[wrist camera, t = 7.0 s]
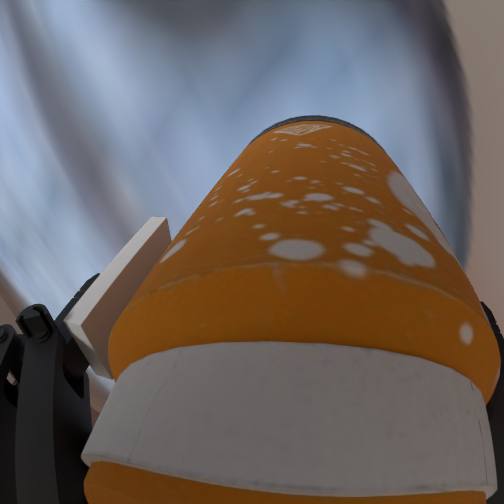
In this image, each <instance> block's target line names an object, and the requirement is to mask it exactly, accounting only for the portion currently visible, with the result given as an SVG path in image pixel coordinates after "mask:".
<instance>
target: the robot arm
mask: <svg viewBox="0 0 504 504" xmlns="http://www.w3.org/2000/svg"><path fill="white" fill-rule="evenodd" d="M171 242H172V241H171V236H170V231H169V226H168V221H167V217H151V218H150V219H149V220H148V221H147V222H146V224H145V225H144V226H143V227H142V228H141V229H140V230H139V231H138V232H137V233H136V234H135V235H134V237H133V238H132V239H131V240H130V241H129V242H128V243H127V244H126V245H125V246H124V248H123V249H122V250H121V251H120V252H119V253H118V254H117V255H116V257H115V258H114V259H113V260H112V261H111V262H110V264H109V265H108V266H107V267H106V268H105V269H104V270H103V272H102V273H101V274H100V273H97V274H96V275H94V276H93V277H91V278H90V279H89V280H87V281H86V282H85V284H84V285H83V286H82V287H81V288H80V291H78V292H77V293H76V294H75V296H74V298H72V299H71V300H70V302H69V303H68V304H67V305H66V307H65V308H64V309H63V310H62V312H61V313H60V314H59V315H58V317H57V318H56V319H55V321H54V320H53V318H52V317H51V315H50V313H49V311H48V309H47V308H46V307H45V305H42V304H34V305H31V306H29V307H27V308H26V309H24V310H23V311H22V312H21V313H20V314H19V315H18V317H17V319H16V322H17V324H18V326H19V328H20V329H21V330H22V332H23V334H17V332H16V331H15V329H14V328H13V327H12V326H11V325H9V324H5V325H2V326H0V504H89V503H88V501H87V499H86V496H85V493H84V480H85V477H86V475H87V473H88V470H89V468H90V467H88V466H87V465H86V464H85V463H84V462H83V460H82V459H81V454H82V452H83V450H84V447H85V445H86V443H87V441H88V439H89V437H90V434H91V432H92V420H91V409H90V393H89V378H88V374H87V373H86V369H87V368H88V366H89V365H90V366H91V368H92V369H93V371H94V372H95V374H96V375H99V376H102V377H105V378H108V379H112V380H113V375H112V372H111V368H110V365H109V361H108V341H109V338H110V334H111V331H112V328H113V326H114V324H115V323H116V321H117V320H118V318H119V317H120V315H121V314H122V312H123V311H124V309H125V308H126V306H127V305H128V303H129V302H130V300H131V299H132V297H133V296H134V295H135V293H136V292H137V290H138V289H139V287H140V286H141V284H142V283H143V281H144V280H145V279H146V277H147V276H148V274H149V273H150V271H151V270H152V269H153V267H154V266H155V264H156V263H157V262H158V260H159V259H160V257H161V256H162V255H163V253H164V252H165V251H166V249H167V248H168V246H169V245H170V244H171ZM480 303H481V305H482V307H483V310H484V312H485V314H486V316H487V318H488V321H489V323H490V325H491V328H492V330H493V332H494V335H495V337H496V340H497V343H498V348H499V352H500V357H501V365H500V375H499V379H498V382H497V385H496V387H495V390H494V393H493V395H492V396H491V398H490V400H489V402H488V403H487V405H486V410H487V415H488V420H489V426H490V431H491V437H492V443H493V450H494V458H495V466H496V476H497V489H498V490H497V491H496V492H495V493H494V495H492V496H491V497H489V498H488V499H486V504H504V338H503V336H502V334H500V329H499V327H498V325H496V321H495V318H494V316H493V314H492V312H491V310H490V309H489V308H488V307H487V306H486V305H485V304H484V303H483V302H480ZM8 373H10V374H11V375H12V377H13V378H14V379H15V381H14V383H13V384H11V383H10V382H9V381H8V380H7V379H6V378H7V376H8Z"/></svg>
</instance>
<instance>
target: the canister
mask: <svg viewBox="0 0 504 504" xmlns="http://www.w3.org/2000/svg"><path fill="white" fill-rule="evenodd" d="M108 361H109V365H110V368H111V372H112V375H113V378H114V380H115V385H114V387H113V389H112V391H111V393H110V395H109V397H108V399H107V401H106V403H105V405H104V407H103V409H102V411H101V413H100V416H99V418H98V420H97V422H96V424H95V426H94V428H93V430H92V432H91V434H90V437H89V439H88V441H87V443H86V445H85V447H84V450H83V452H82V454H81V459H82V460H83V462H84V463H85V464H86V465H87V466H88V467H90V468H89V470H88V473H87V475H86V477H85V480H84V493H85V496H86V499H87V501H88V503H89V504H486V499H488V498H489V497H491V496H492V495H494V493H495V492H496V491H497V490H498V489H497V476H496V466H495V458H494V450H493V443H492V437H491V431H490V426H489V420H488V415H487V410H486V405H487V403H488V402H489V400H490V398H491V396H492V395H493V393H494V390H495V387H496V385H497V382H498V379H499V375H500V365H501V357H500V352H499V348H498V343H497V340H496V337H495V335H494V332H493V330H492V328H491V325H490V323H489V321H488V318H487V316H486V314H485V312H484V310H483V307H482V305H481V303H480V301H479V299H478V297H477V295H476V293H475V291H474V289H473V287H472V285H471V283H470V281H469V279H468V278H467V275H466V273H465V272H464V270H463V268H462V266H461V264H460V262H459V261H458V259H457V257H456V255H455V253H454V252H453V250H452V248H451V247H450V245H449V243H448V241H447V240H446V238H445V236H444V235H443V233H442V232H441V230H440V228H439V227H438V225H437V224H436V222H435V220H434V219H433V217H432V216H431V214H430V213H429V211H428V210H427V208H426V207H425V205H424V204H423V202H422V201H421V199H420V198H419V196H418V195H417V193H416V192H415V191H414V189H413V188H412V186H411V185H410V184H409V182H408V181H407V179H406V178H405V177H404V175H403V174H402V173H401V171H400V170H399V169H398V167H397V166H396V165H395V163H394V162H393V161H392V159H391V158H390V157H389V156H388V155H387V153H386V152H385V151H384V149H383V148H382V147H381V146H380V145H379V144H378V143H377V142H376V141H375V140H374V138H373V137H371V136H370V135H369V134H367V133H366V132H365V131H363V130H362V129H360V128H358V127H357V126H355V125H353V124H351V123H349V122H346V121H343V120H340V119H337V118H333V117H327V116H320V115H312V116H300V117H294V118H289V119H287V120H284V121H281V122H278V123H276V124H274V125H272V126H271V127H269V128H267V129H265V130H264V131H263V132H261V133H260V134H259V135H258V136H256V137H255V138H254V139H253V140H252V141H251V142H250V144H249V145H248V146H247V147H246V148H245V149H244V151H243V152H242V153H241V154H240V155H239V157H238V158H237V159H236V160H235V161H234V163H233V164H232V165H231V166H230V167H229V169H228V170H227V171H226V172H225V174H224V175H223V176H222V177H221V179H220V180H219V181H218V182H217V184H216V185H215V186H214V187H213V189H212V190H211V191H210V192H209V194H208V195H207V196H206V197H205V199H204V200H203V201H202V203H201V204H200V205H199V206H198V208H197V209H196V210H195V212H194V213H193V214H192V216H191V217H190V218H189V220H188V221H187V222H186V224H185V225H184V226H183V228H182V229H181V230H180V232H179V233H178V234H177V236H176V237H175V238H174V240H173V241H172V242H171V244H170V245H169V246H168V248H167V249H166V251H165V252H164V253H163V255H162V256H161V257H160V259H159V260H158V262H157V263H156V264H155V266H154V267H153V269H152V270H151V271H150V273H149V274H148V276H147V277H146V279H145V280H144V281H143V283H142V284H141V286H140V287H139V289H138V290H137V292H136V293H135V295H134V296H133V297H132V299H131V300H130V302H129V303H128V305H127V306H126V308H125V309H124V311H123V312H122V314H121V315H120V317H119V318H118V320H117V321H116V323H115V324H114V326H113V328H112V331H111V334H110V338H109V341H108Z"/></svg>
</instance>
